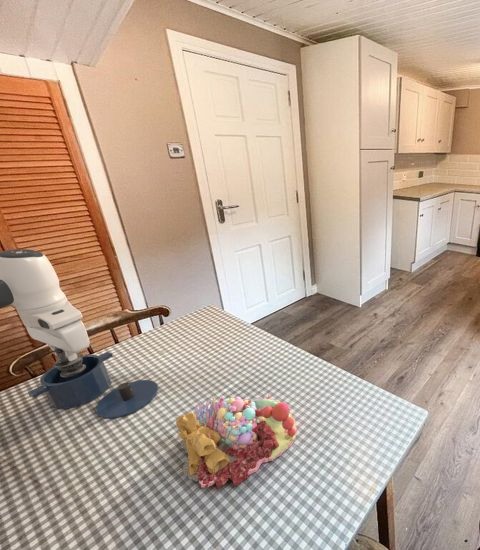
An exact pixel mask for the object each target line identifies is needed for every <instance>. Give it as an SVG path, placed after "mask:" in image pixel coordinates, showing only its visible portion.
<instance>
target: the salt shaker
mask: <svg viewBox="0 0 480 550" xmlns="http://www.w3.org/2000/svg"><path fill="white" fill-rule="evenodd" d="M54 348H55V350H54V351H53V352H55V353H57V355H58V356H57V358H58V359H57V360H56V361H55V362H54V363H53V367H56V368H57V369H58V370H60V371H62V372H61V374H60V376H61V377H70V376H74V375H76V374H78V373H80V372H82V371H83V370H84V369H85V368H86V365H84V364H81V363H82V360H83V359H82V357H83V356H84V355H83V354H82V353H76V355H77V358H76V359H75V360H73V361H69V360H66V358H65V356H64V355H66V354H65V351H63V350H62V349H60V348H57V347H54ZM55 353H54V354H55Z"/></svg>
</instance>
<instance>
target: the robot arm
mask: <svg viewBox="0 0 480 550" xmlns="http://www.w3.org/2000/svg"><path fill="white" fill-rule="evenodd" d="M8 306H13V307H14V308H15V311H16V312H17V314H18V316H19V318H20V319H21V322H22V324H23V325H24V327H25V328H26V331H27V334H28V335H29V336H30V337H31V338H32V339H33V340H36V341H38V342H41V343H42V344H43V343H44V344H46V345H47V346H48V347H49V348H50V349H51V350H52V351H53V352H54V350H55V348H54V347H57V348H60V349H62V350H63V351H65V354H66V355H64V356H65V358H66V360H69V361H73V360H75V359H76V358H77V355H76V354H79V353H80V352H82V351H84V350H86V349H88V348H89V347H90V345H91V342H90V337H89V335H88V332H87V329H86V327H85V324H84V323H83V321H82V320H81V319H84V318H83V317H84V316H83V314H82V312H81V311H80V310H79V309H78V308H76V307H74V306H73V305H72V303H71V302H70V301H69V300H68V298H67V296H66V294H65V293H64V292H63V290H62V289H61V286H60V279H59V277H58V275H57V272H56V270H55V268H54V266H53V265H52V263H51V262H50V260H49V259H48V257H47V256H46V255H45V254H44V253H43V252H40V251H38V250H34V249H29V248H17V249H8V250H3V251H0V309H3V308H6V307H8ZM54 355H55V356H56V357H58V355H57V353H55V352H54Z"/></svg>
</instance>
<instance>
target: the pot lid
mask: <svg viewBox="0 0 480 550" xmlns="http://www.w3.org/2000/svg"><path fill="white" fill-rule="evenodd" d="M158 392H159V386H158V384H157V382H156V381H153V380H150V379H140V380H139V379H138V380H134V381H131V382H128V381H127V382H126V381H125V382H123V383H121V384H119V385H118V386H117V387H116V388H114V389H113V390H111V391H110V392H108V393H107V394H105V395H104V396H103V397H102V398H101V399H100V400H99V402H98V403H97V405H96V409H95V411H96V414H97V416H99V417H100V418H102V419H107V420H112V419H114V420H115V419H119V418H123V417H126V416H129V415H131V414H134V413H136V412H138V411H139V410H141V409H143V408H144V407H146V406H147V405H148V404H150V403H151V402H152V401H153V400H154V399H155V398H156V396H157V394H158Z"/></svg>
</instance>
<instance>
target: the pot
mask: <svg viewBox="0 0 480 550" xmlns="http://www.w3.org/2000/svg"><path fill="white" fill-rule="evenodd" d="M112 357H114V355H113V353H112V352H108V351H106V352H104V353H102V354H100V355H97V354H86V355H83V357H82V359H83V360H82V363H81V364H84V365H86V368H85V369H84V370H83V371H82V372H80V373H78V374H76V375H74V376H70V377H61V376H60V374H61V372H62V371H60V370H58V369H57V368H56V367H54V366H52V367H51V368H50V369H48V370H47V371H45V372H44V373H43V374H42V376H40V378H39V381H40V382H39V386H38V387H35V388H33V389H32V390H29V391H28V392H27V394H28V396H29V397H31V398H33V399H36V398H37V397H39V396H41V395H43V394H45V395H46V397H47V399H48V401H49V403H50V405H51V407H52V408H54V409H56V410H70V409H75V408H78V407H81V406H83V405H85V404H88V403H91V402H93V401H95V400H96V399H97V398H100V397H101V396H102V395H103V394H104V393H106V392H107V391H108V390H109V389H110V387H111V385H112V380H111V377H110V374H109V372H108V370H107V367H106V365H105V361H108V360H109V359H111V358H112Z"/></svg>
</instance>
